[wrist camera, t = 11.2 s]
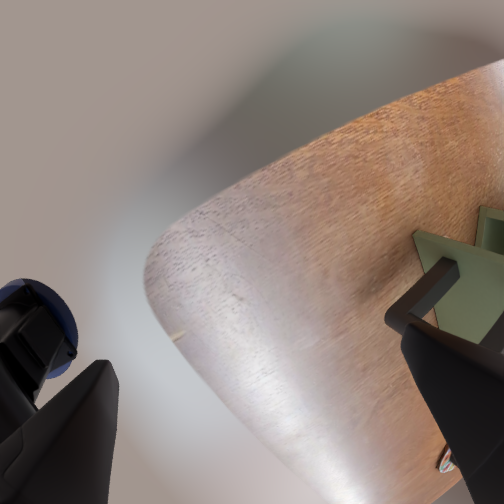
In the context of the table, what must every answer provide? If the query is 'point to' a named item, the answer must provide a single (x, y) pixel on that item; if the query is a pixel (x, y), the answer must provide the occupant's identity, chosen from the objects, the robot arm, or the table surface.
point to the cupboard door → (455, 291)
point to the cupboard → (490, 230)
